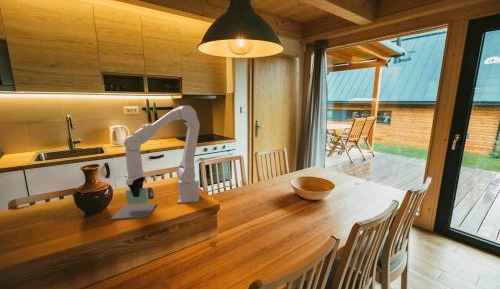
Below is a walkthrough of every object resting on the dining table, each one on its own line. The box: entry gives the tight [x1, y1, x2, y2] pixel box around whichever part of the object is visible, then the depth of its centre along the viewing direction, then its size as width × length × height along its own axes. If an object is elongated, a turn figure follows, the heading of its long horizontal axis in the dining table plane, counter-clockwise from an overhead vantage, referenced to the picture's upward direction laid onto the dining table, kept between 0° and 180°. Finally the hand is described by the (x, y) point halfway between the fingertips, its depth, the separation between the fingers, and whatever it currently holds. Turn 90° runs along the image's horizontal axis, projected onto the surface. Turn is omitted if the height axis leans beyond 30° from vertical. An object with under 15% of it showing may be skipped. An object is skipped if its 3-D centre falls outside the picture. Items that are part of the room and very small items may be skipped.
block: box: [125, 187, 150, 205], centre depth 99 cm, size 8×2×6 cm, turn 96°
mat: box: [110, 203, 157, 221], centre depth 98 cm, size 14×12×1 cm
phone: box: [146, 187, 154, 200], centre depth 118 cm, size 8×1×15 cm
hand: (137, 195), depth 98 cm, fingers closed on block, 2 cm apart
